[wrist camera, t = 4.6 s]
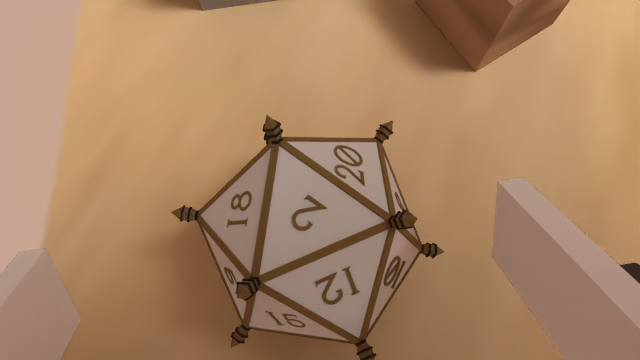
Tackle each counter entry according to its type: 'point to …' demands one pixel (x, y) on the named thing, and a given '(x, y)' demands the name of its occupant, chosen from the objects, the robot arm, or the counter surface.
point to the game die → (312, 237)
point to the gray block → (226, 3)
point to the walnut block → (490, 24)
